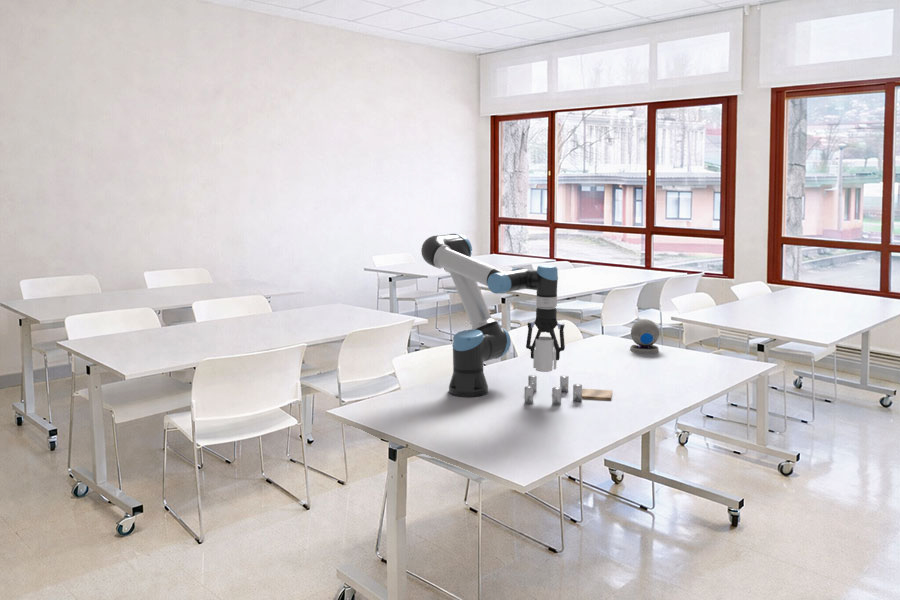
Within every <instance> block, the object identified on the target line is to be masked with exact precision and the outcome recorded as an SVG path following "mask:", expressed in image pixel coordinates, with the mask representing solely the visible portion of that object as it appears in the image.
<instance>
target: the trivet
mask: <svg viewBox="0 0 900 600" xmlns="http://www.w3.org/2000/svg"><path fill="white" fill-rule="evenodd" d="M612 395H613V390H610V389H609V390H608V389H596V388H595V389H593V388H582V400H583V399H585V400H598V401H599V400H600V401H612Z"/></svg>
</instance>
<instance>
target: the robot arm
mask: <svg viewBox="0 0 900 600" xmlns="http://www.w3.org/2000/svg"><path fill="white" fill-rule="evenodd" d="M420 249H421V256H422V258H423V261H424V262H425V263H427V264H428V265H430V266H432V267H435V268H437V269H444V271H445V272H446V273H448V274H450V277H451V279H452V281H453V284H454V286H455V288H456V291H457V293H458V296H459V298H460V302H461V303H462V306H463V308H464V311H465V312H466V316H467V318H468V320H469V322H470V325H471V329H467V330H466V329H465V330H461V331H459V332H457V333H455V334H454V336H453V338H452V339H453V340H452V365H453V367H452V376H451V378H450V382H449V385H448V392H450V393H451V394H450V393H449V394H450V395H452V394H453V396H456V395H458V396H457V397H462V396H467V397H466V398H471V397H480V396H485V395H486V394H487V393H488V392H489V385H488V382H487V379H486V376H485V373H484V362H488V361H490V360H494V359H499V358H501V357H503V356H505V355H506V354H507V353H508V352H509V350H510V347H511V336H510V334H509V332H508V330H507V329H505V328H504V327H501V326H500V324H499V322H498V320H495V319H494V318H492V315H491V313H490V311H489V308H488V306H487V304H486V301H485V299H484V295H483V294H482V292H481V289H480V287H479V285H478V283H479V284H482V285H484V286H486V287H487V288H488V289H489V290H490V292H491V293H493V294H500V295H501V294H505V293H509V292H516V291H522V290H533V291H536V304H535V305H536V309H535V320H534V321H528V323H527V329H528V330H527V337H526V344H525V348H526V349H528V350H530V359H531V360H532V361H533V363H532V364H533V366H532V367H533V369H536V364H535V341H536V339H539V337H541V333H547V334H549V335H550V337H551V338H552V340H553V339H554V346H555V349H556V351H554V350H553V351H554V360H553V370H556V369H557V361H559V360H560V359H561V358H560V356H561V355H560V354H561V353H560V352H563V351H565V349H566V345H565V343H566V342H565V332H564V329H565V323H560V322H558V320H557V313H558V310H557V306H558V303H557V302H558V281H559V276H558V268H557V266H556V265H552V264H542V265H540V264H539V265H538V266H537V269H532V268H525V267H513V268H512V269H511V270H507V271H506V270H502V269H499V268H497V267H495V266H493V265H490V264H488V263H485V262H482V261H481V260H478V259H475V258H473V257H471V256H472V255H473V254H472V251H473V248H472V244H471V242H470V240H469V239H468V237H466V235H463V234H460V233H448V234H441V235H438V234H437V235H432V236H429V237H428V238H426V239H425V240H424V242H423V243H422V246H421V248H420ZM535 326H536V328H537V332H536V335H535V337H534V340H533V342H532V335H533V328H534V327H535ZM556 327H557V329H558V330H559V342H560V346H559V342H558V339H557V336H556V334H555V328H556ZM535 338H536V339H535ZM531 343H532V345H531Z"/></svg>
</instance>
